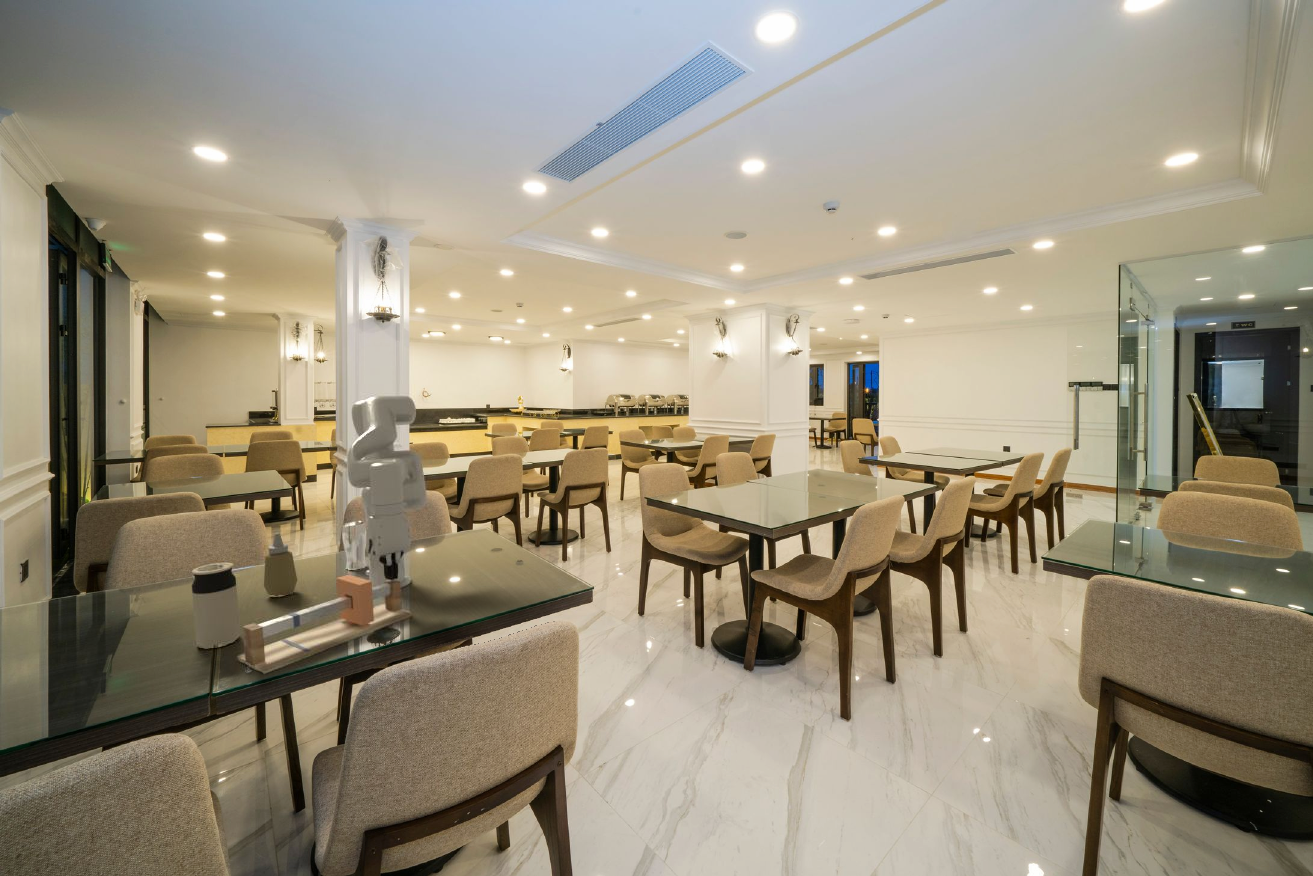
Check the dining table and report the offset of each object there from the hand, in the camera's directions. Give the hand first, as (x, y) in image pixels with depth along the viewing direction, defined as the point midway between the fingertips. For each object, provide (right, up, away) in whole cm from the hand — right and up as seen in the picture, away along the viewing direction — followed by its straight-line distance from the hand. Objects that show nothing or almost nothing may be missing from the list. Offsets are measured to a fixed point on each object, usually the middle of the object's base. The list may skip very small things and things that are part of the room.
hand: (391, 578), depth 144 cm
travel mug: (-33, -11, -15) cm, 38 cm away
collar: (-5, -8, -8) cm, 12 cm away
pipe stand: (-8, -11, -13) cm, 18 cm away
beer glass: (-31, -7, +39) cm, 50 cm away
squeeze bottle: (-39, -9, +15) cm, 43 cm away
